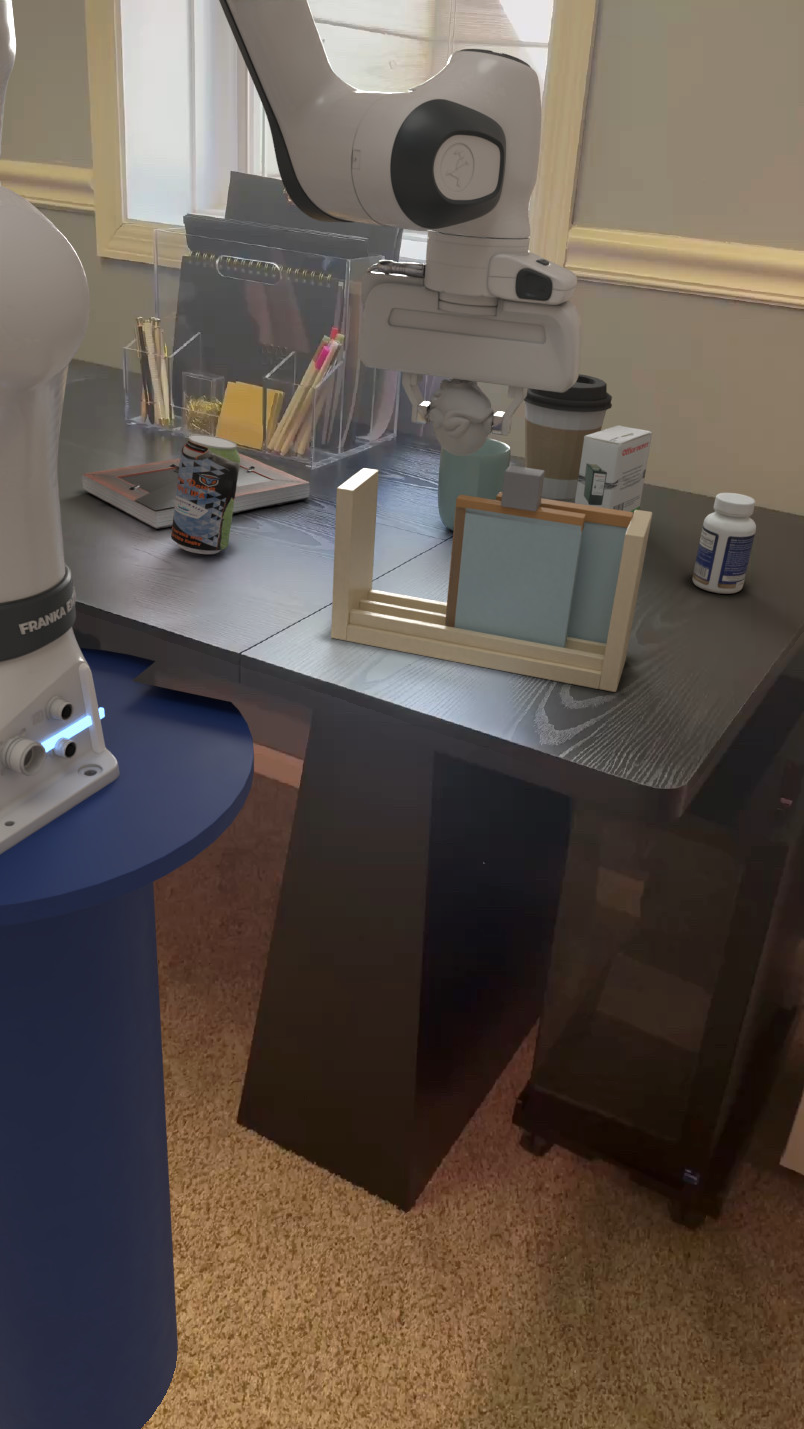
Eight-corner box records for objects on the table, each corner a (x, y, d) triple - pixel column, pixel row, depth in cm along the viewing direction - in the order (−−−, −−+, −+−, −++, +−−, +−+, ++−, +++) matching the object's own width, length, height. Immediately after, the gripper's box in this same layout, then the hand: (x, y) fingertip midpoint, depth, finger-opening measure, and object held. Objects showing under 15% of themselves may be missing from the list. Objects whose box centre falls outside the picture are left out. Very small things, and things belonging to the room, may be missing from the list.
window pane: (561, 658, 95) (588, 483, 87) (442, 636, 97) (458, 464, 90) (565, 650, 96) (592, 477, 89) (448, 628, 99) (464, 458, 91)
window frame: (615, 692, 93) (644, 534, 86) (330, 638, 99) (336, 485, 92) (625, 660, 99) (653, 509, 92) (356, 610, 105) (363, 465, 98)
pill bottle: (745, 583, 119) (765, 496, 114) (737, 599, 114) (758, 509, 110) (696, 572, 120) (714, 487, 116) (686, 588, 116) (704, 499, 111)
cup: (474, 545, 123) (483, 458, 119) (421, 527, 128) (428, 443, 123) (513, 531, 129) (524, 447, 124) (462, 514, 133) (470, 432, 128)
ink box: (602, 517, 136) (618, 422, 130) (638, 527, 133) (655, 430, 128) (568, 532, 130) (582, 433, 124) (604, 543, 127) (621, 442, 122)
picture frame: (156, 531, 121) (309, 500, 134) (155, 510, 119) (310, 480, 133) (82, 492, 131) (232, 467, 144) (81, 472, 130) (231, 448, 143)
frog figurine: (467, 442, 107) (474, 369, 104) (505, 462, 101) (513, 385, 98) (412, 446, 104) (418, 371, 101) (448, 466, 99) (455, 388, 96)
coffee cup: (613, 499, 143) (632, 383, 136) (566, 517, 135) (584, 394, 128) (541, 479, 149) (556, 366, 142) (492, 494, 141) (505, 376, 134)
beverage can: (161, 546, 117) (156, 434, 111) (219, 535, 121) (218, 427, 115) (191, 564, 113) (188, 449, 107) (251, 552, 117) (251, 441, 111)
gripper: (351, 260, 95) (344, 420, 101) (584, 285, 90) (561, 451, 97) (374, 254, 100) (366, 406, 107) (595, 277, 95) (572, 435, 102)
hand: (461, 428), depth 102 cm, fingers closed on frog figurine, 6 cm apart
